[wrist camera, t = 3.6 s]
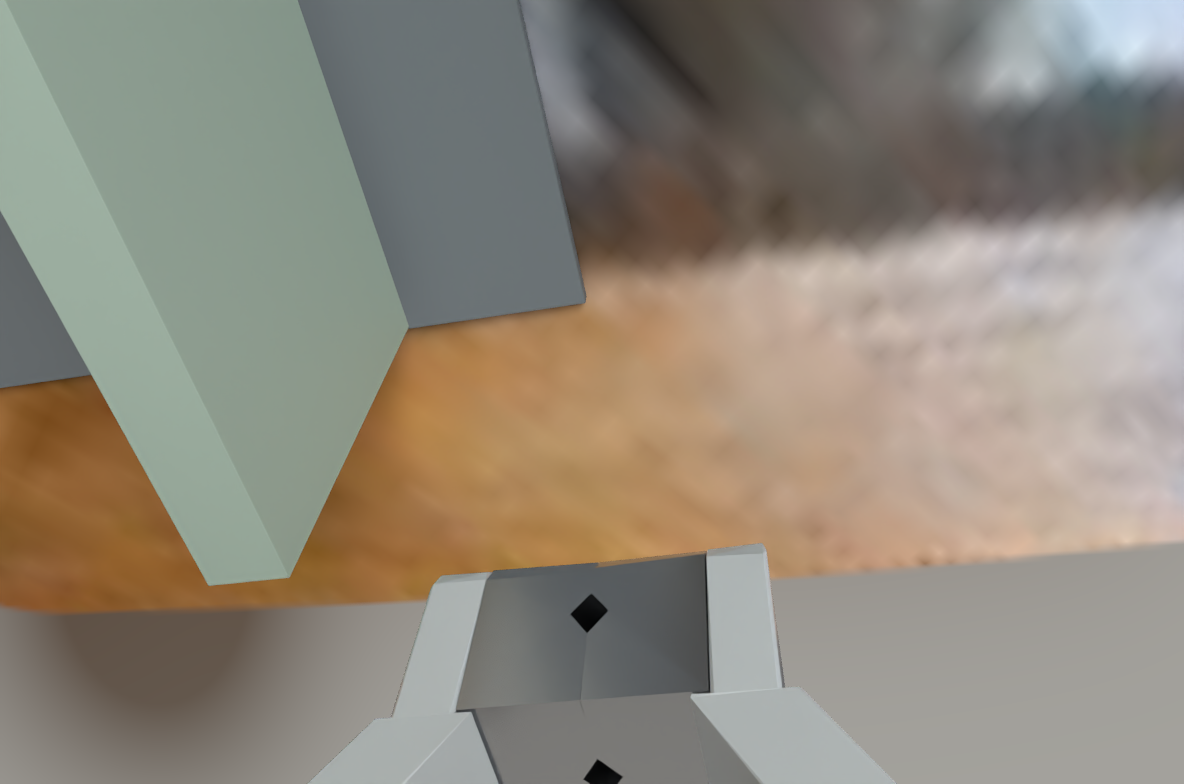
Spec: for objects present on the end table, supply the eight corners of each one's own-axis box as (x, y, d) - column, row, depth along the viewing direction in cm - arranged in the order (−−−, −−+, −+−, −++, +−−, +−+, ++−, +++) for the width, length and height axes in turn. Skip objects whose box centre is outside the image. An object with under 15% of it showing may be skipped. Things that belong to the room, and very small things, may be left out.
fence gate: (155, -184, 14) (-199, -148, 9) (228, -203, 14) (-83, -177, 8) (351, 334, 19) (208, 585, 13) (408, 326, 19) (289, 577, 13)
